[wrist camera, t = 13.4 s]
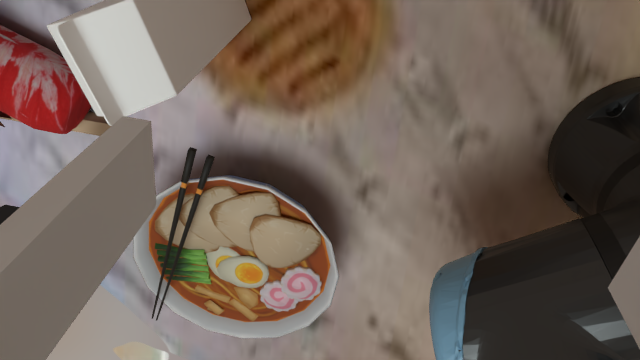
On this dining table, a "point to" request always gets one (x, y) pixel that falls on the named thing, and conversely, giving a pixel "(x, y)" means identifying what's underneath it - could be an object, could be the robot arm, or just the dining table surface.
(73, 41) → the milk
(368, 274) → the dining table surface
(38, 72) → the water bottle
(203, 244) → the ramen bowl
